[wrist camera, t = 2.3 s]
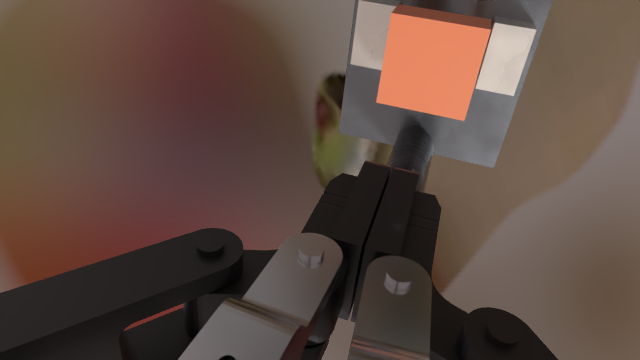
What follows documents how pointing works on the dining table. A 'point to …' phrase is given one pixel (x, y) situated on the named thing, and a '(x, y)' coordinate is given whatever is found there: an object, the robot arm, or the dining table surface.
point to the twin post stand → (432, 130)
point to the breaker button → (432, 60)
